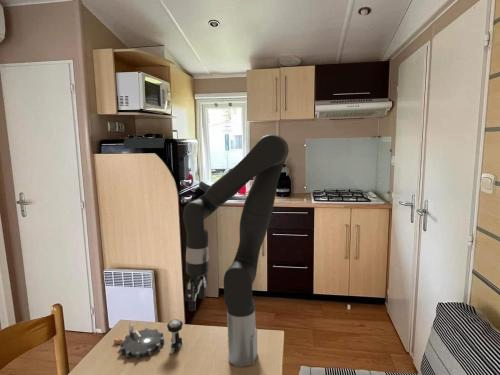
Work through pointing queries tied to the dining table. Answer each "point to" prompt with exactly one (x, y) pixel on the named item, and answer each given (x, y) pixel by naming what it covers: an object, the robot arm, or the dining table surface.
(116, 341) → the pointer block
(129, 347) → the sprocket wheel
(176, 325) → the push button
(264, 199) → the robot arm
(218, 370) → the dining table surface
